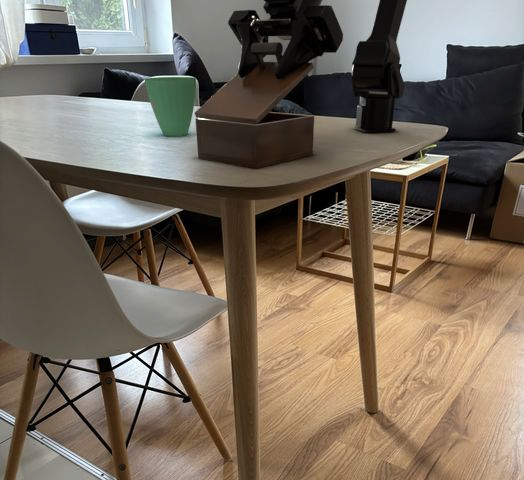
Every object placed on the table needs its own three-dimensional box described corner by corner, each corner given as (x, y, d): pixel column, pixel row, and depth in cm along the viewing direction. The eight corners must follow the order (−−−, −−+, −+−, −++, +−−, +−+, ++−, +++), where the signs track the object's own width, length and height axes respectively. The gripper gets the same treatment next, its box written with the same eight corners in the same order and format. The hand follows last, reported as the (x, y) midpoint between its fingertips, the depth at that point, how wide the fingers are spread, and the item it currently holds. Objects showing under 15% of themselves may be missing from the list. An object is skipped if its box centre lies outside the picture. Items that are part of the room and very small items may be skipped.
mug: (203, 136, 100) (200, 79, 94) (153, 139, 97) (146, 80, 92) (192, 126, 112) (188, 75, 107) (146, 129, 109) (140, 76, 104)
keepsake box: (255, 146, 90) (254, 110, 87) (312, 155, 82) (314, 115, 79) (198, 158, 81) (195, 118, 78) (256, 168, 74) (256, 125, 71)
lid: (251, 66, 83) (242, 36, 79) (314, 67, 76) (306, 35, 72) (196, 117, 78) (183, 88, 75) (256, 124, 71) (245, 92, 67)
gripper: (234, -54, 76) (184, 32, 75) (337, -70, 66) (282, 30, 64) (268, 11, 85) (225, 89, 84) (364, 6, 75) (316, 94, 73)
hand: (257, 76), depth 76 cm, fingers open, 7 cm apart
